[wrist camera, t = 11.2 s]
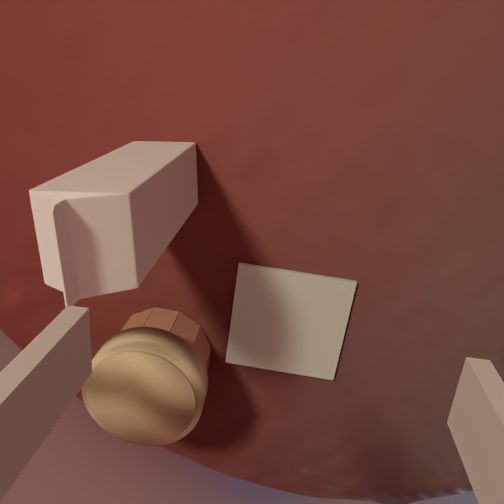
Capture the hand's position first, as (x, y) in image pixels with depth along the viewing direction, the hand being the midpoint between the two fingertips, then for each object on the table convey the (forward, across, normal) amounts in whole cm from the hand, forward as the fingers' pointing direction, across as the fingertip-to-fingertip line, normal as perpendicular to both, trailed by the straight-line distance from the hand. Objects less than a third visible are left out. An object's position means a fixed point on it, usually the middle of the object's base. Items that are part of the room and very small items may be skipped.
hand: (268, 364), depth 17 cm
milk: (+30, +12, +1) cm, 32 cm away
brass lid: (+24, +12, +20) cm, 34 cm away
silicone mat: (+30, -1, +15) cm, 34 cm away
